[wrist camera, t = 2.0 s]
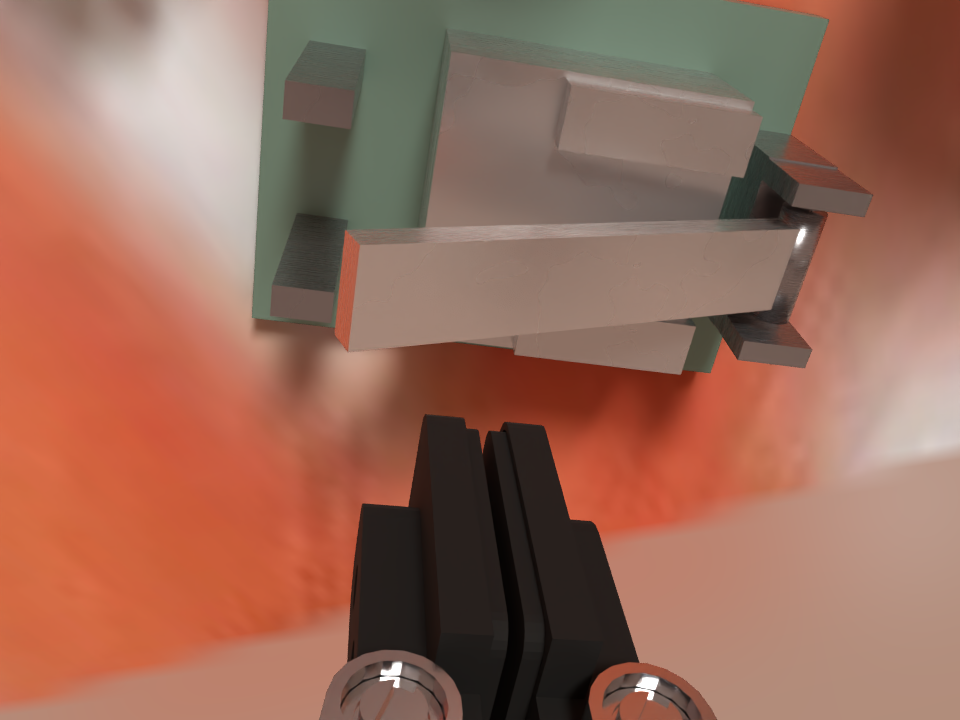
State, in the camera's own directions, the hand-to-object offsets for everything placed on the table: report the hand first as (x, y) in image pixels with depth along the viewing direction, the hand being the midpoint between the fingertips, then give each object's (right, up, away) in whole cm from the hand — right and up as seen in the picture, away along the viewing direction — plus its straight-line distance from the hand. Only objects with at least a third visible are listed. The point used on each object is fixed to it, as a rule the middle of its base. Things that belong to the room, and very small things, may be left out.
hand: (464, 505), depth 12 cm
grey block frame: (+2, +8, +15) cm, 17 cm away
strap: (+3, +4, +9) cm, 11 cm away
